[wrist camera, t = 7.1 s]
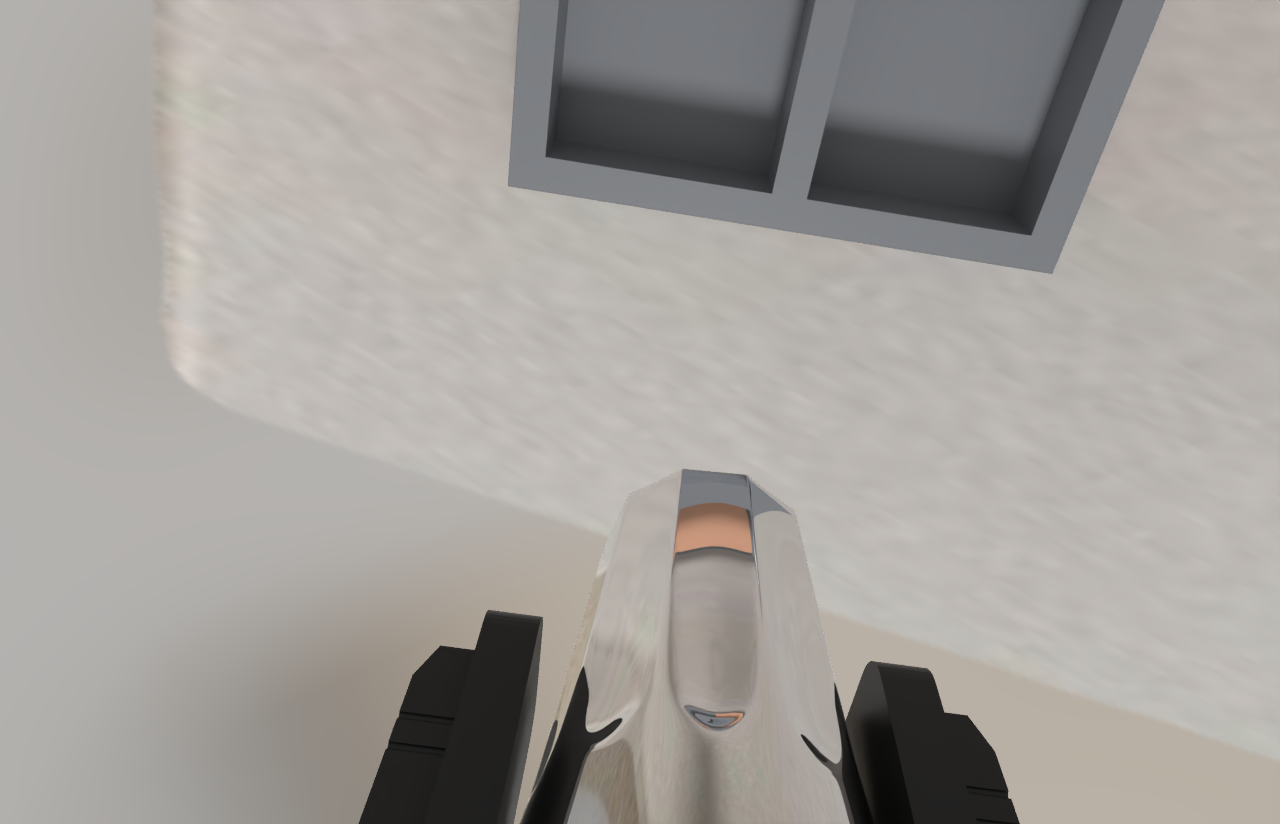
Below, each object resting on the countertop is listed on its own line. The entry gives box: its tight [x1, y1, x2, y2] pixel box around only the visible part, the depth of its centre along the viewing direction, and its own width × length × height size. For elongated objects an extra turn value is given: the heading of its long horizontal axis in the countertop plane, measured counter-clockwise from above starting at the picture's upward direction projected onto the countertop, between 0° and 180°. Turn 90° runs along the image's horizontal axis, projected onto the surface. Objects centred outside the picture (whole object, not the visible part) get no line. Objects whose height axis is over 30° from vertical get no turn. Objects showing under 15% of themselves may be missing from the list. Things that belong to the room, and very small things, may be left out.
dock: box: [508, 0, 1165, 274], centre depth 24 cm, size 16×12×3 cm
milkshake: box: [520, 469, 875, 824], centre depth 10 cm, size 4×5×10 cm
